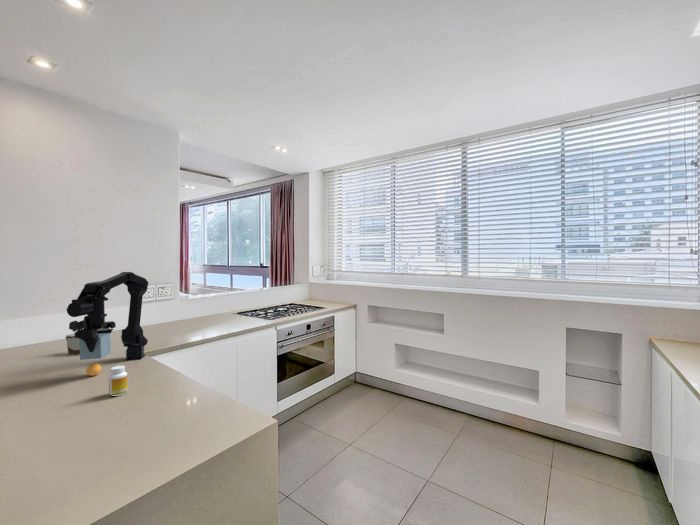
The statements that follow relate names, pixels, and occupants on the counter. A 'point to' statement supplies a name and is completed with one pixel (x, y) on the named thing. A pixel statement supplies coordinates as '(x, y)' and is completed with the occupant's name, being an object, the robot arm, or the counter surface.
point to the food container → (73, 344)
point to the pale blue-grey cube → (96, 347)
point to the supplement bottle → (118, 381)
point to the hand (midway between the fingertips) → (96, 349)
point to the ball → (93, 369)
